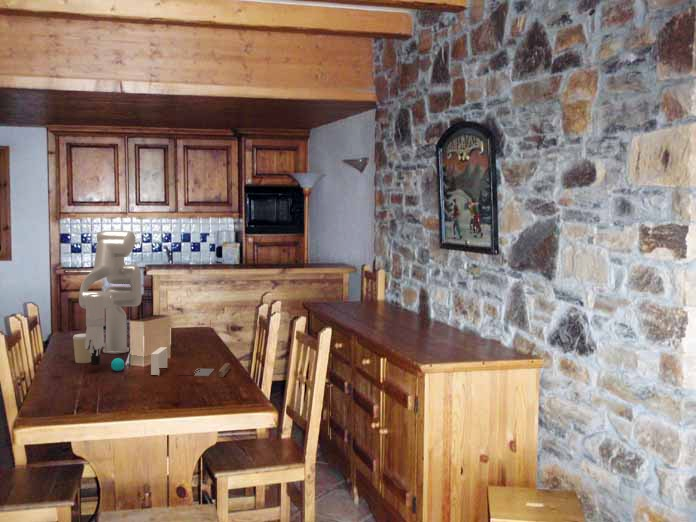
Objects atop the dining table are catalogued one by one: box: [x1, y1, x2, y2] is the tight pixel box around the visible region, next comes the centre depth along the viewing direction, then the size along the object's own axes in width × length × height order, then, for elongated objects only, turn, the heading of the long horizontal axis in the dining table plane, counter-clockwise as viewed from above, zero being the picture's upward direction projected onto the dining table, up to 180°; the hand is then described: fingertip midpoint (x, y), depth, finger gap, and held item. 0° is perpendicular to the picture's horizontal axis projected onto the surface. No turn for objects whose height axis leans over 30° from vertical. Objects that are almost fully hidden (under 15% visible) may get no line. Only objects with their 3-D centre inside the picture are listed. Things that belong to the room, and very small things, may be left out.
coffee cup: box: [72, 333, 91, 364], centre depth 331 cm, size 9×9×12 cm
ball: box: [110, 357, 125, 372], centre depth 314 cm, size 6×6×6 cm
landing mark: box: [193, 368, 215, 377], centre depth 314 cm, size 13×13×1 cm
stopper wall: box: [217, 362, 231, 378], centre depth 314 cm, size 2×16×2 cm, turn 179°
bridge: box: [150, 346, 168, 376], centre depth 314 cm, size 3×14×9 cm, turn 179°
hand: (95, 364), depth 314 cm, fingers closed
